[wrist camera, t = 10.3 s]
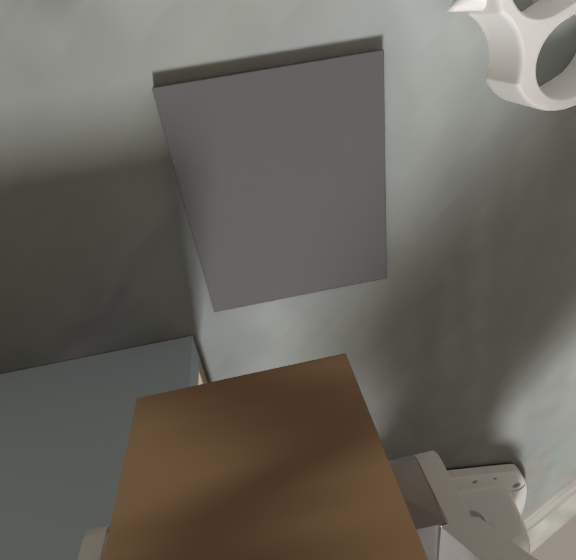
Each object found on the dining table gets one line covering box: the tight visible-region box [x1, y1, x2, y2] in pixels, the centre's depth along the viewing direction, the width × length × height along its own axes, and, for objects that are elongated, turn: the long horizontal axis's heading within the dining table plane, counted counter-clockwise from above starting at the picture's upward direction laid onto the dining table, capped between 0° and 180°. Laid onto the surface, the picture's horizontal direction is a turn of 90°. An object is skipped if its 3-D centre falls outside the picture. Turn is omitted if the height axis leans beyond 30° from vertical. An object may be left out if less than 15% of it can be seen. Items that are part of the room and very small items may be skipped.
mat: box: [152, 50, 387, 312], centre depth 26 cm, size 12×14×1 cm
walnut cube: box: [103, 354, 428, 560], centre depth 9 cm, size 5×5×5 cm
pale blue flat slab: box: [0, 336, 208, 560], centre depth 26 cm, size 18×7×14 cm, turn 98°
